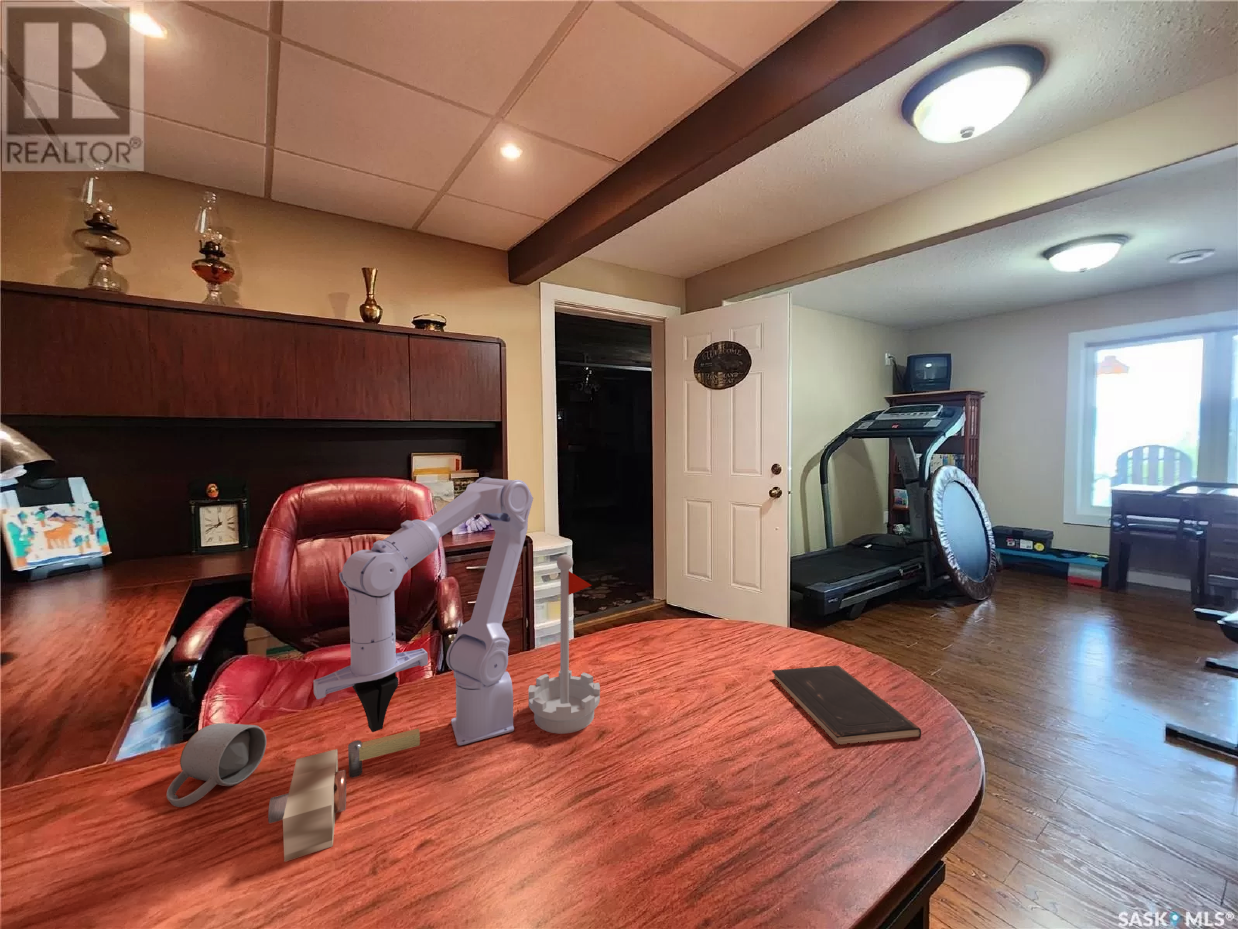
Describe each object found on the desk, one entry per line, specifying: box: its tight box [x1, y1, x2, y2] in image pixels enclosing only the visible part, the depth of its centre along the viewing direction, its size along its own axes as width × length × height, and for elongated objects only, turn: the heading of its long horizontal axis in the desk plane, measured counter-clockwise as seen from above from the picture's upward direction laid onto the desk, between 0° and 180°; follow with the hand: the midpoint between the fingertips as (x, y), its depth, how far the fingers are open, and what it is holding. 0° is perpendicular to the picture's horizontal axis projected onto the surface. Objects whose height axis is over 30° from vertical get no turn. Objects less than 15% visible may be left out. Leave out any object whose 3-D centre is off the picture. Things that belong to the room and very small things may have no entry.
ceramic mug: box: [166, 722, 267, 808], centre depth 71 cm, size 11×8×8 cm
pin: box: [267, 769, 347, 824], centre depth 64 cm, size 8×5×5 cm, turn 117°
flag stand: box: [528, 553, 601, 735], centre depth 88 cm, size 13×13×30 cm
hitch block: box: [282, 748, 339, 863], centre depth 64 cm, size 5×12×5 cm, turn 27°
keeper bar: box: [347, 728, 421, 778], centre depth 75 cm, size 10×2×5 cm, turn 117°
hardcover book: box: [771, 665, 922, 746], centre depth 94 cm, size 16×23×2 cm
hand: (375, 727), depth 70 cm, fingers closed
